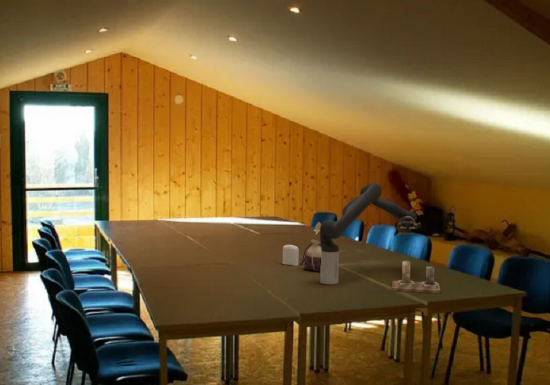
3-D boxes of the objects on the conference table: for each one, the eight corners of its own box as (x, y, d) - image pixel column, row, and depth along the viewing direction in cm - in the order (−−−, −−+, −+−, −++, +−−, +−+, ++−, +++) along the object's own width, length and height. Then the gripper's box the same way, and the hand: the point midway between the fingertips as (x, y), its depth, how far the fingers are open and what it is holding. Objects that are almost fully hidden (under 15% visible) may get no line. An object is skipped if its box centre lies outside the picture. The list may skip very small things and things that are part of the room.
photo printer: (299, 265, 380) (299, 245, 379) (296, 266, 376) (296, 246, 375) (284, 263, 385) (285, 243, 384) (281, 264, 381) (281, 244, 380)
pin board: (391, 290, 314) (392, 268, 313) (392, 283, 331) (393, 262, 330) (440, 293, 309) (441, 271, 308) (438, 286, 326) (439, 264, 325)
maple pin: (401, 285, 319) (402, 262, 319) (401, 283, 323) (402, 261, 322) (409, 285, 319) (410, 262, 318) (409, 284, 322) (410, 261, 322)
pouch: (294, 269, 367) (294, 237, 365) (302, 267, 373) (302, 236, 372) (329, 275, 351) (330, 241, 350) (337, 272, 358) (338, 240, 356)
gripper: (395, 216, 352) (394, 219, 337) (420, 217, 349) (421, 220, 334) (394, 229, 353) (394, 232, 337) (420, 230, 350) (420, 234, 334)
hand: (407, 226), depth 335 cm, fingers open, 8 cm apart
